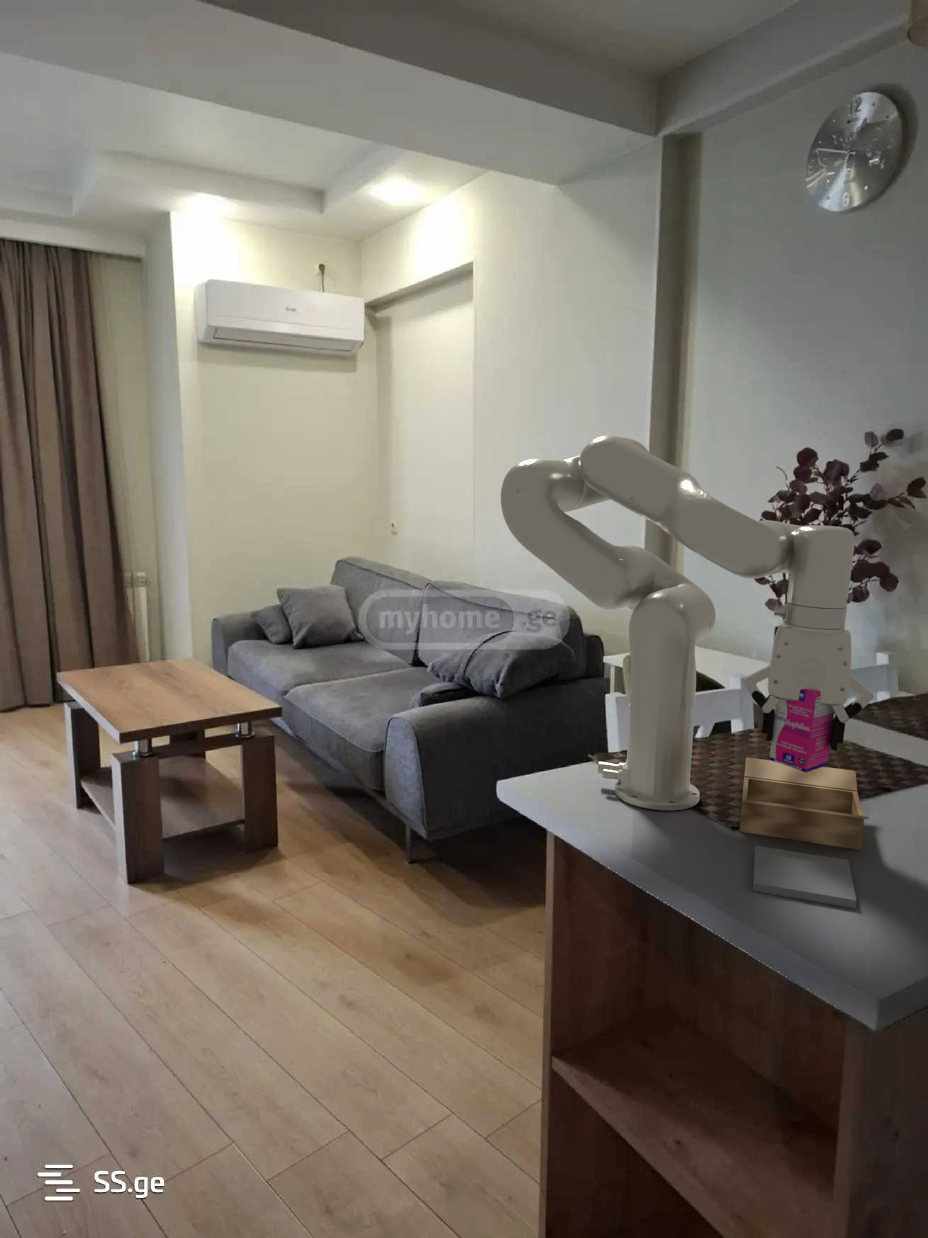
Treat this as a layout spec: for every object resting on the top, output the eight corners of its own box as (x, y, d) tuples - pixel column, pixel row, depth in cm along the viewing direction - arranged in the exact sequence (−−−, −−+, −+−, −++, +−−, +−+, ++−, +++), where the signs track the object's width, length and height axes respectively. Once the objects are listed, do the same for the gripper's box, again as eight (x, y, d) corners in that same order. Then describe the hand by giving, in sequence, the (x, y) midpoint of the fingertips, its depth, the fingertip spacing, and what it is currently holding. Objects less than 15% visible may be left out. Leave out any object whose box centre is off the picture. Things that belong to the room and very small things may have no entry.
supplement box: (767, 761, 116) (776, 681, 114) (791, 753, 120) (800, 676, 118) (805, 773, 112) (815, 691, 110) (829, 766, 115) (839, 685, 113)
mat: (752, 890, 98) (753, 882, 97) (754, 853, 108) (755, 845, 108) (855, 908, 94) (856, 900, 94) (847, 867, 104) (848, 860, 104)
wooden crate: (738, 843, 111) (741, 799, 110) (743, 795, 128) (746, 757, 127) (864, 863, 105) (869, 817, 104) (851, 810, 123) (855, 770, 122)
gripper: (746, 615, 111) (733, 741, 114) (890, 628, 106) (873, 761, 109) (747, 608, 118) (735, 727, 121) (883, 619, 113) (867, 744, 116)
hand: (800, 742), depth 115 cm, fingers closed on supplement box, 7 cm apart
